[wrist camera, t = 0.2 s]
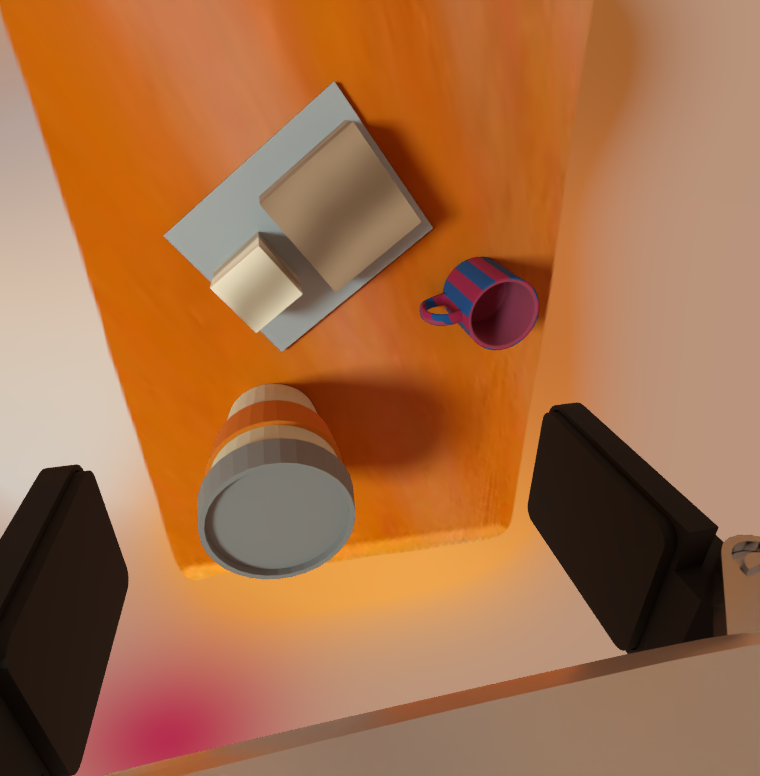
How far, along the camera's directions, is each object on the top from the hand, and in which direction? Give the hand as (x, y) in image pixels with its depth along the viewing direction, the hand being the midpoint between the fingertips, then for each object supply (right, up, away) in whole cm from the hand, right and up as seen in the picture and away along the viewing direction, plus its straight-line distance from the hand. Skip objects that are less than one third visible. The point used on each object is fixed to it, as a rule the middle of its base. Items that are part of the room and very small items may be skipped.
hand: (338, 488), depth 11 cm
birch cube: (-10, +12, +33) cm, 37 cm away
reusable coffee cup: (-10, -1, +42) cm, 43 cm away
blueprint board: (-6, +16, +33) cm, 37 cm away
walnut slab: (-3, +18, +32) cm, 37 cm away
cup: (+9, +12, +39) cm, 42 cm away
